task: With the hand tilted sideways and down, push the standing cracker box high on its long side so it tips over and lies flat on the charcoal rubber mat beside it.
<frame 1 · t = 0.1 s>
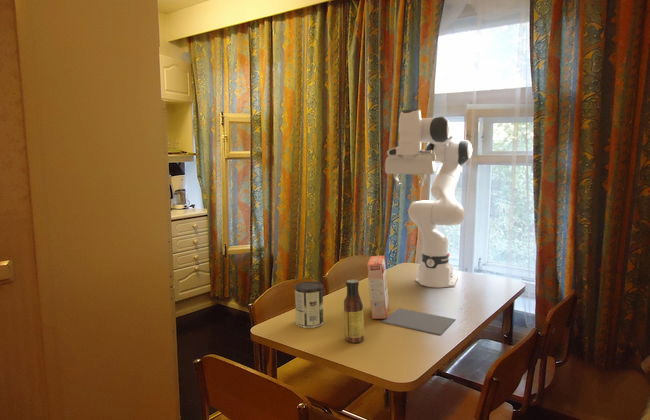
hand: (409, 185, 171), 48 cm above the table, tool pointing down, fingers open, 8 cm apart
coffee can: (309, 323, 157), on the table
cracker box: (381, 313, 165), on the table
sauce bottle: (354, 340, 142), on the table
mat: (418, 321, 157), on the table
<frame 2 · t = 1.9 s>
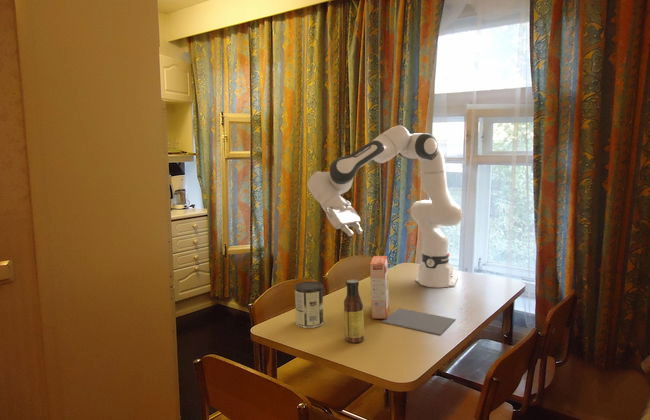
hand: (356, 234, 168), 30 cm above the table, tool tilted 40°, fingers open, 8 cm apart
cracker box: (381, 313, 165), on the table, touching mat
everything else where it was.
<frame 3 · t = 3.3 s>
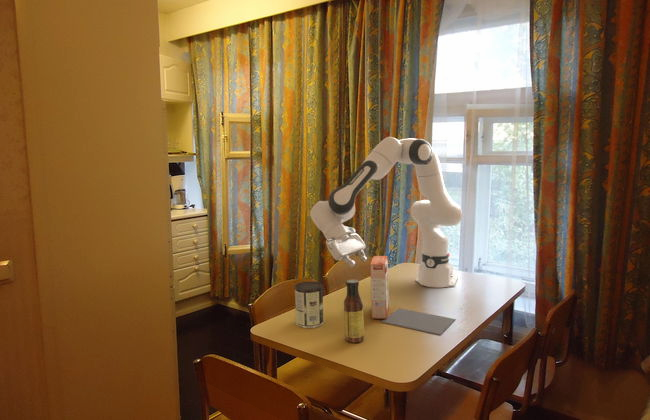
hand: (359, 263, 168), 19 cm above the table, tool tilted 45°, fingers open, 8 cm apart
nothing on the table moved.
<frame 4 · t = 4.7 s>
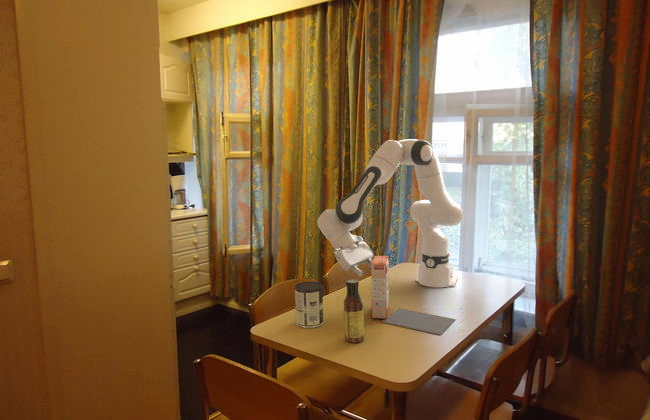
hand: (368, 272, 167), 15 cm above the table, tool tilted 45°, fingers open, 8 cm apart
cracker box: (381, 313, 165), on the table, touching gripper, mat
everything else where it was.
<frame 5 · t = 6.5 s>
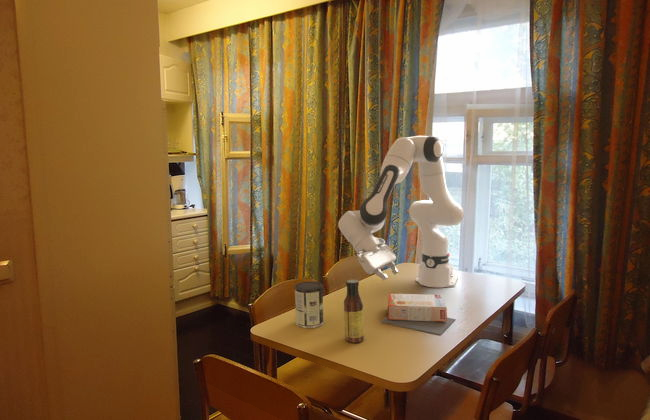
hand: (391, 276, 161), 15 cm above the table, tool tilted 45°, fingers open, 8 cm apart
cracker box: (387, 306, 164), point 3 cm above the table, touching mat
everything else where it was.
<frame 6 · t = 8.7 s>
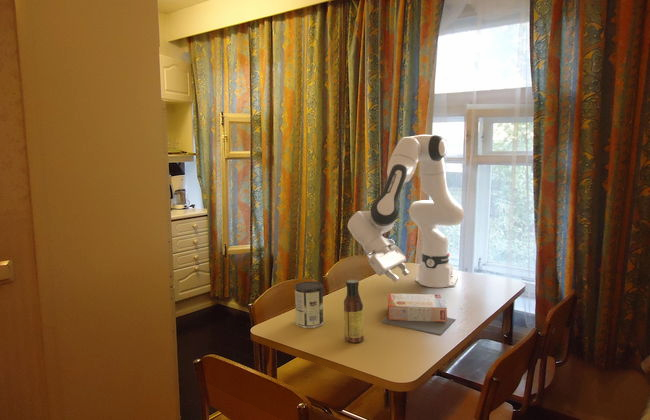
hand: (402, 277, 159), 15 cm above the table, tool tilted 45°, fingers open, 8 cm apart
nothing on the table moved.
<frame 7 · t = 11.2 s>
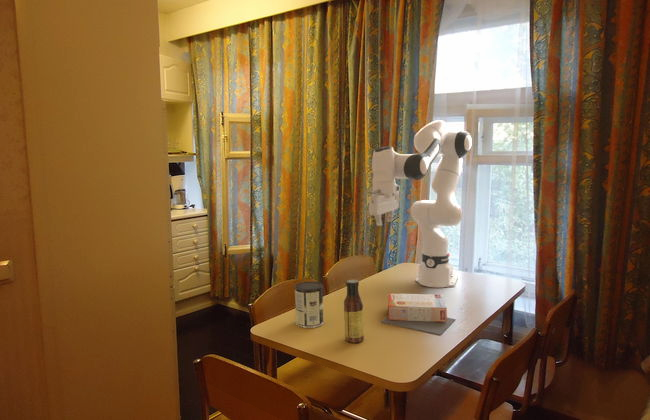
hand: (384, 223, 170), 33 cm above the table, tool pointing down, fingers open, 8 cm apart
nothing on the table moved.
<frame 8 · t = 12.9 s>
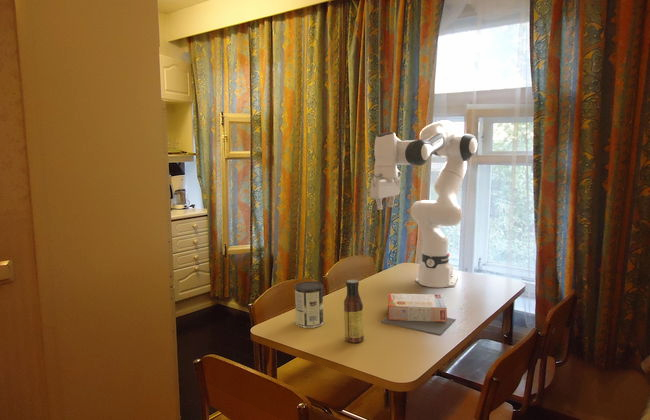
hand: (385, 208, 172), 39 cm above the table, tool pointing down, fingers open, 8 cm apart
nothing on the table moved.
at the end: cracker box tilted 89°; cracker box touching mat; cracker box inside the target area (0.5 cm from its centre), point 3.2 cm above the table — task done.
